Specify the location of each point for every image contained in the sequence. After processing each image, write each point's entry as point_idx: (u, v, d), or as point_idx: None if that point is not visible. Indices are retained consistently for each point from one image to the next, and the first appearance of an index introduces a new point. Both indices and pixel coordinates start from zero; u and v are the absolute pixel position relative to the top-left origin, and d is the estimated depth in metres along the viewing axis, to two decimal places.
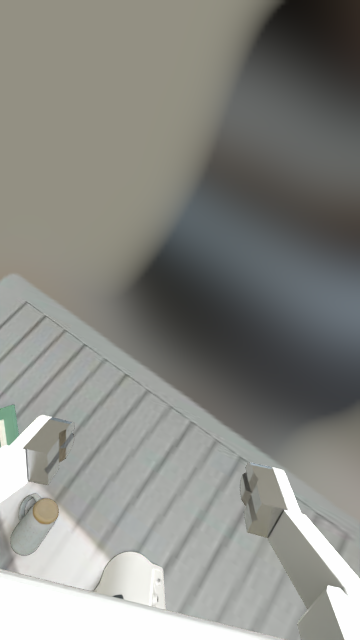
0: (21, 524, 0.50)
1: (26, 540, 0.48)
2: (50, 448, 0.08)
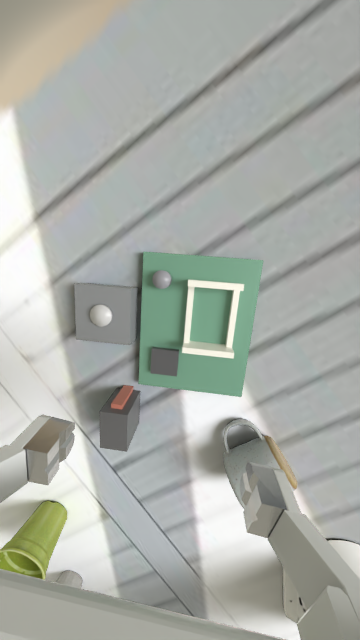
0: None
1: None
2: (50, 448, 0.08)
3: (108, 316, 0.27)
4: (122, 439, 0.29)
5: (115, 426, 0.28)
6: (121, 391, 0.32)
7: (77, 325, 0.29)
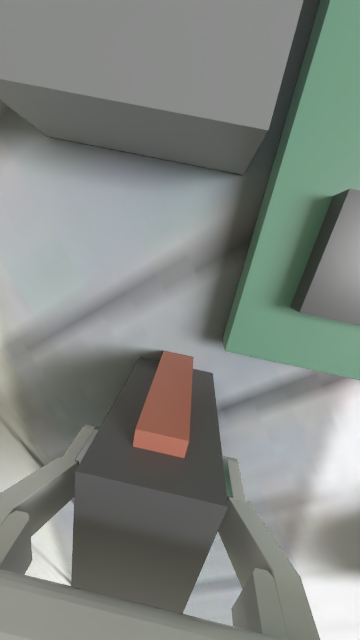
0: None
1: None
2: None
3: None
4: (173, 581, 0.06)
5: (149, 538, 0.06)
6: (162, 370, 0.09)
7: None
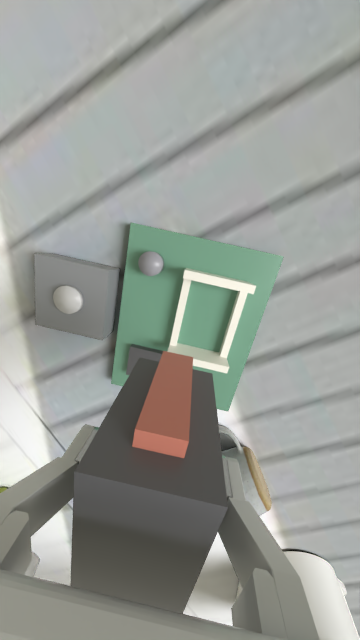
0: None
1: None
2: None
3: (77, 302, 0.21)
4: (173, 582, 0.06)
5: (149, 539, 0.06)
6: (162, 370, 0.09)
7: (37, 307, 0.23)
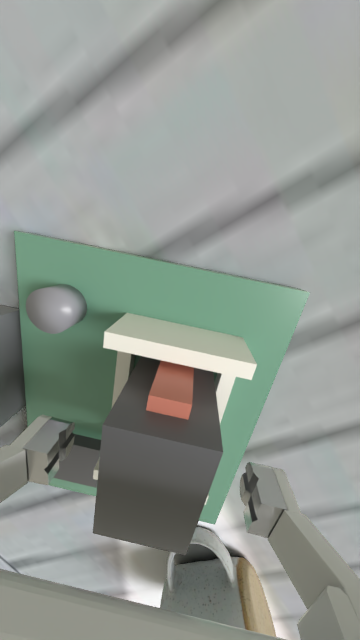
0: None
1: None
2: (50, 448, 0.08)
3: None
4: (179, 523, 0.08)
5: (160, 483, 0.07)
6: None
7: None
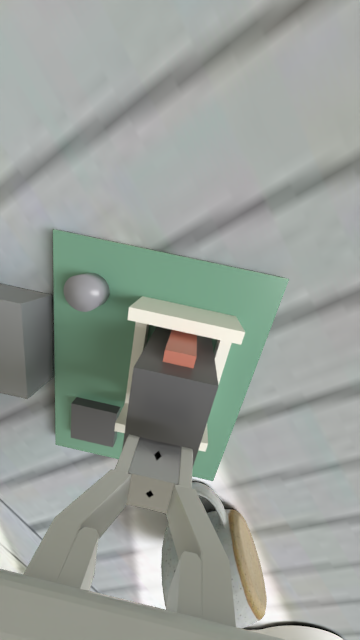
0: None
1: None
2: (153, 472, 0.08)
3: None
4: (186, 446, 0.11)
5: (173, 412, 0.10)
6: None
7: None
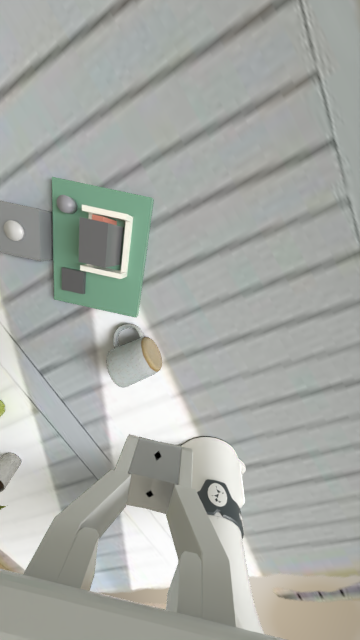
0: (123, 355, 0.35)
1: (128, 375, 0.35)
2: (153, 472, 0.08)
3: (19, 232, 0.32)
4: (101, 252, 0.29)
5: (95, 236, 0.28)
6: None
7: None
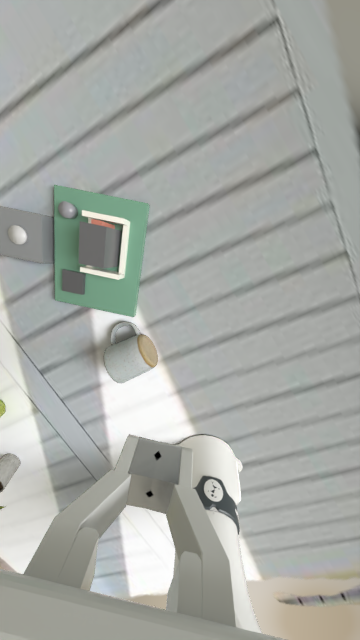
0: (120, 351, 0.37)
1: (125, 371, 0.36)
2: (153, 472, 0.08)
3: (23, 236, 0.34)
4: (100, 254, 0.30)
5: (94, 239, 0.30)
6: None
7: (0, 242, 0.35)
